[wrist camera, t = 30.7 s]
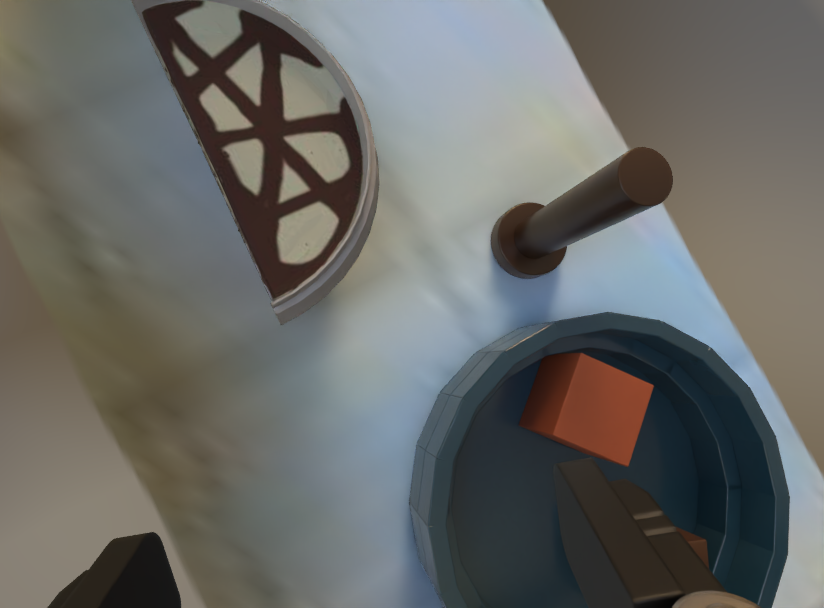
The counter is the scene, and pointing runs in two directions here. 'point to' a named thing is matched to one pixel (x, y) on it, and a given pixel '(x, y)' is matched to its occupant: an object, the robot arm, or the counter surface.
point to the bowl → (649, 466)
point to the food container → (274, 138)
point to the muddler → (579, 212)
